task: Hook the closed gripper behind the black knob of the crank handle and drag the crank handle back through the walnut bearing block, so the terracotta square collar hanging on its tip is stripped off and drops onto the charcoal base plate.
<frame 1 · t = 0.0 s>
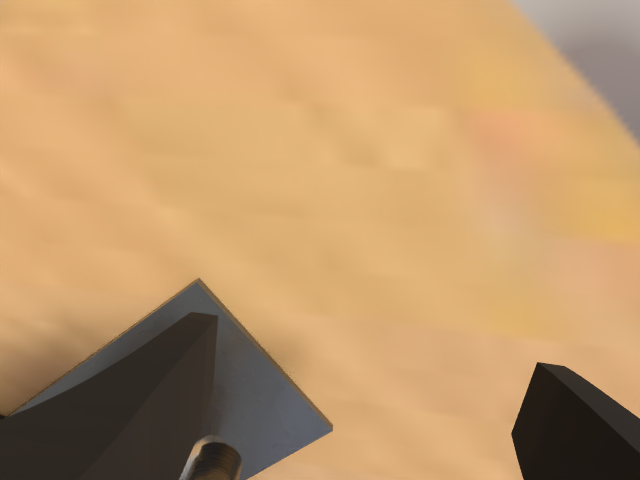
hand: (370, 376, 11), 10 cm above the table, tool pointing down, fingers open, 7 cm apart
base plate: (152, 430, 25), on the table
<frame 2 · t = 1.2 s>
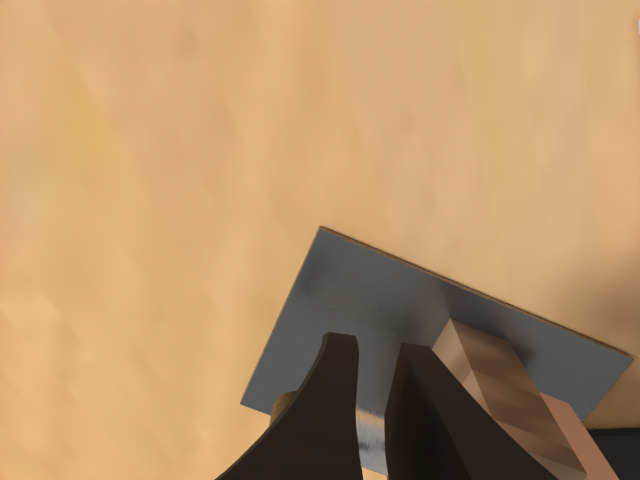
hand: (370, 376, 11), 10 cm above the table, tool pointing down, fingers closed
bearing block: (441, 382, 23), resting on base plate
collar: (519, 442, 21), point 2 cm above the table, touching crank handle
phone: (621, 475, 25), on the table
base plate: (427, 377, 23), on the table
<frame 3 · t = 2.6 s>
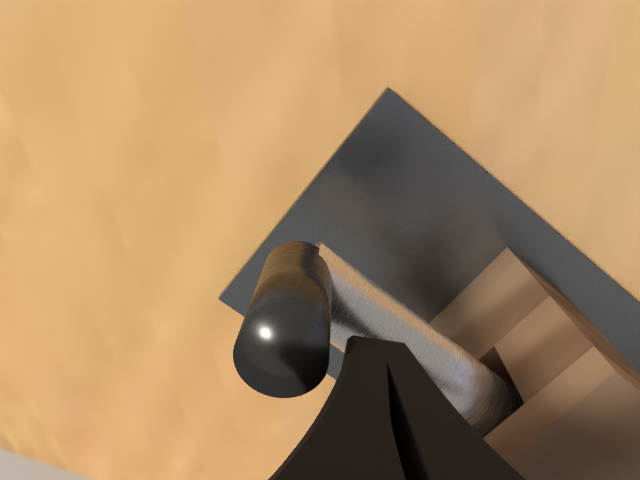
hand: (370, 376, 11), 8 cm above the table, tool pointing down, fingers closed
bearing block: (466, 328, 19), resting on base plate
crank handle: (466, 421, 12), point 7 cm above the table, slide at 0.8 cm, touching collar, gripper
base plate: (452, 318, 19), on the table
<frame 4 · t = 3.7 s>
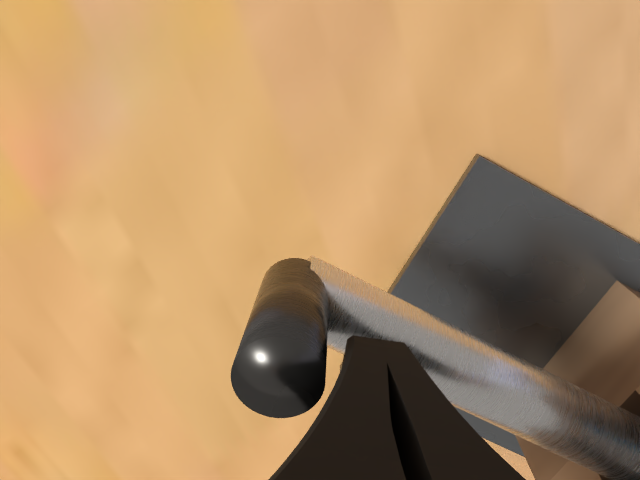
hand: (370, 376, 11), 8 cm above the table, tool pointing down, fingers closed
bearing block: (583, 360, 19), resting on base plate
crank handle: (488, 409, 12), point 7 cm above the table, slide at 5.5 cm, touching gripper
base plate: (568, 353, 19), on the table
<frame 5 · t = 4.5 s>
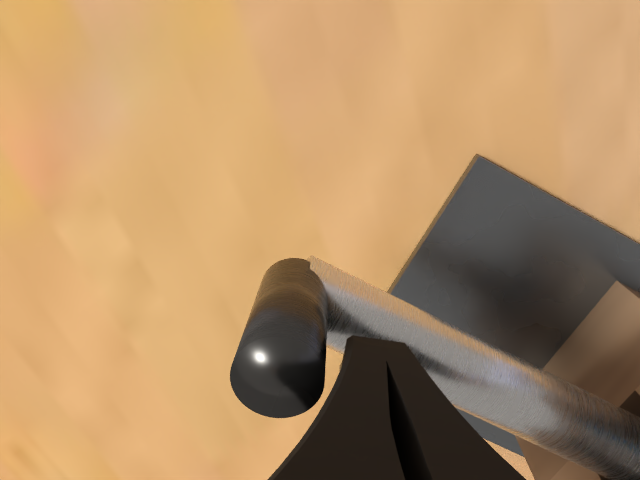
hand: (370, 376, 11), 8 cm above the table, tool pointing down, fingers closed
bearing block: (583, 360, 19), resting on base plate
crank handle: (487, 409, 12), point 7 cm above the table, slide at 5.5 cm, touching gripper
base plate: (568, 353, 19), on the table
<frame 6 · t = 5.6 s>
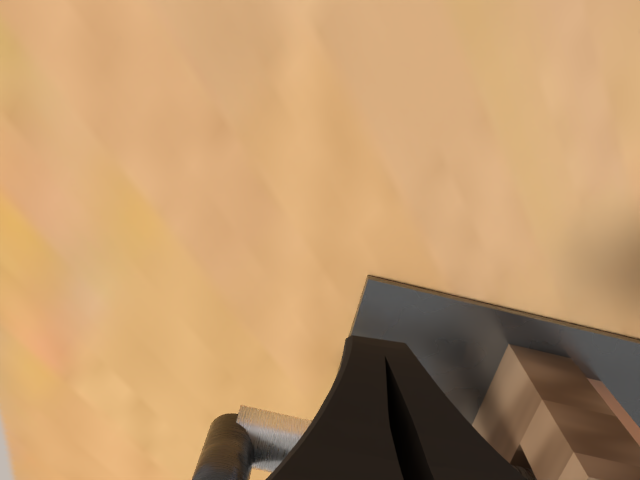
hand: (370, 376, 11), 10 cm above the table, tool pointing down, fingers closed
bearing block: (508, 405, 23), resting on base plate
collar: (561, 422, 23), resting on base plate
base plate: (493, 402, 23), on the table
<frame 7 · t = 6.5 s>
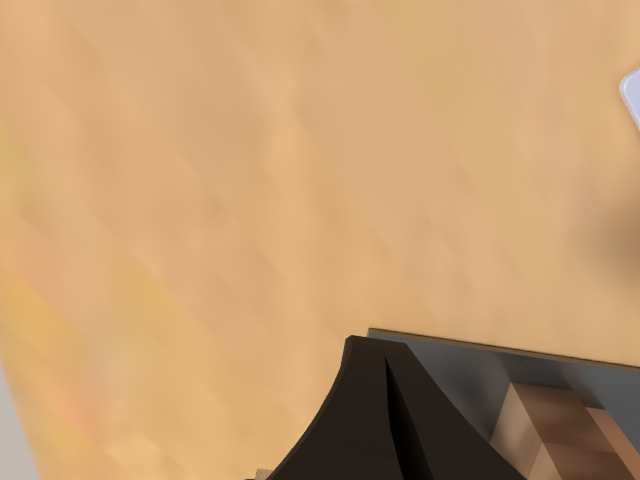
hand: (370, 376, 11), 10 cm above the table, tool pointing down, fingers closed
bearing block: (517, 437, 24), resting on base plate
collar: (570, 451, 24), resting on base plate
base plate: (503, 435, 24), on the table
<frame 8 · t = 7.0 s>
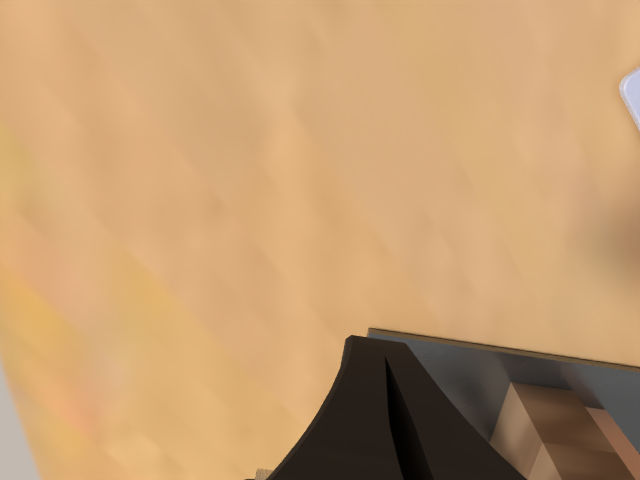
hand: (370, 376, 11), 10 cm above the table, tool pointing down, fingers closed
bearing block: (517, 437, 24), resting on base plate
collar: (570, 451, 24), resting on base plate
base plate: (503, 435, 24), on the table
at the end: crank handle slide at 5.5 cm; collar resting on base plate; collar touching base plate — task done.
